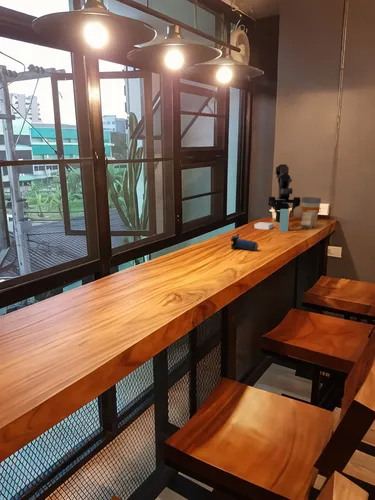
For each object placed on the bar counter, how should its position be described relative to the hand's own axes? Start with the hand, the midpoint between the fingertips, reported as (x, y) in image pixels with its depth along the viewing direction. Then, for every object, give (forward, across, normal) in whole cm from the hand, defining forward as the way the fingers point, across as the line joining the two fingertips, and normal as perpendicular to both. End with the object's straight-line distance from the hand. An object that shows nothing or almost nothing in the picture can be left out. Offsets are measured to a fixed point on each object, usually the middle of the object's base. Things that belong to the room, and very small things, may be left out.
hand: (284, 212), depth 234 cm
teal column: (+10, 0, +5) cm, 11 cm away
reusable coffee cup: (-21, +20, +36) cm, 46 cm away
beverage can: (+47, -21, -31) cm, 60 cm away
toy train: (0, +16, +15) cm, 22 cm away
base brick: (+5, -11, +11) cm, 16 cm away
